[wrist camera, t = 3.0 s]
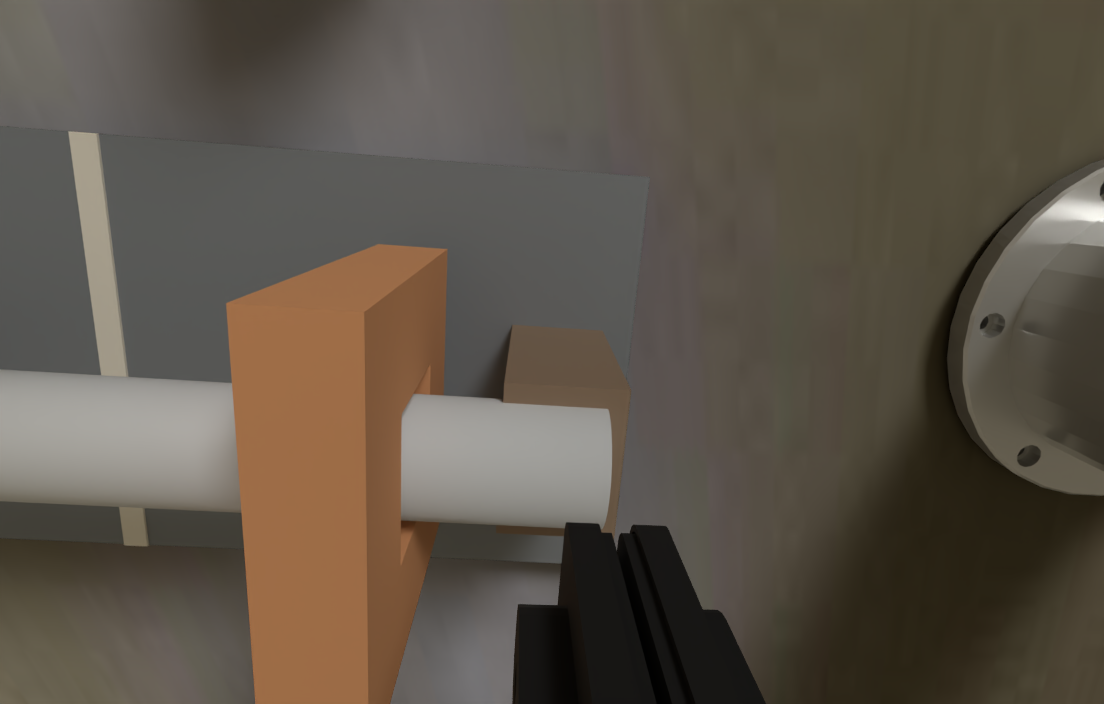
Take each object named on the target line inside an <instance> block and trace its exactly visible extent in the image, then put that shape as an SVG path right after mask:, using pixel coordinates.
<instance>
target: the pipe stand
mask: <svg viewBox="0 0 1104 704" xmlns="http://www.w3.org/2000/svg"><path fill="white" fill-rule="evenodd" d="M649 180H650V177H643V176H630V175H617V174H605V173H592V172H579V171H566V170H554V169H541V168H528V167H515V166H503V165H490V164H477V163H464V162H452V161H439V160H426V159H413V158H401V157H388V156H375V155H362V154H350V153H337V152H324V151H311V150H298V149H286V148H273V147H260V146H247V145H235V144H222V143H209V142H196V141H184V140H171V139H158V138H145V137H133V136H120V135H107V134H96V133H83V132H70V131H56V130H43V129H31V128H18V127H5V126H0V538H7V539H29V540H51V541H74V542H96V543H118V544H124V545H125V546H148V545H162V546H185V547H207V548H229V549H244V540H243V526H242V513H241V499H240V486H239V472H238V459H237V445H236V431H235V418H234V404H233V391H232V377H231V364H230V350H229V336H228V323H227V309H226V303H228V302H230V301H233V300H235V299H238V298H241V297H243V296H246V295H248V294H251V293H254V292H256V291H259V290H261V289H264V288H266V287H269V286H272V285H274V284H277V283H279V282H282V281H285V280H287V279H290V278H292V277H295V276H298V275H300V274H303V273H305V272H308V271H310V270H313V269H316V268H318V267H321V266H323V265H326V264H329V263H331V262H334V261H336V260H339V259H342V258H344V257H347V256H349V255H352V254H354V253H357V252H360V251H362V250H365V249H367V248H370V247H373V246H375V245H378V244H383V245H398V246H412V247H426V248H440V249H448V250H447V287H446V325H445V362H444V395H428V394H413V395H412V397H411V399H410V401H409V402H408V404H407V406H406V408H405V409H404V411H403V413H402V426H401V520H402V521H423V522H440V523H439V527H438V530H437V534H436V538H435V541H434V545H433V549H432V552H431V556H430V558H451V559H473V560H496V561H518V562H540V563H562V552H563V541H564V531H565V524H566V522H574V523H598V524H599V525H600V528H601V532H603V533H612V535H613V539H614V535H615V526H616V517H617V509H618V500H619V492H620V483H621V474H622V466H623V457H624V448H625V440H626V431H627V423H628V414H629V405H630V397H631V389H630V387H629V385H628V383H627V374H628V365H629V356H630V348H631V339H632V330H633V321H634V312H635V303H636V295H637V286H638V277H639V268H640V259H641V251H642V242H643V233H644V224H645V215H646V206H647V198H648V189H649Z"/></svg>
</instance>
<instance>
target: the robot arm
mask: <svg viewBox="0 0 1104 704" xmlns="http://www.w3.org/2000/svg"><path fill="white" fill-rule="evenodd" d="M947 365H948V377H949V389H950V392H951V395H952V398H953V401H954V405H955V408H956V411H957V414H958V416H959V418H960V420H961V422H962V423H963V425H964V427H965V428H966V430H967V432H968V433H969V435H970V437H971V439H972V440H973V441H974V442H975V443H976V444H977V445H978V446H979V447H980V448H981V449H982V450H983V451H984V452H985V453H986V454H987V455H988V456H989V457H990V458H991V459H993V460H994V461H996V462H997V463H999V464H1001V465H1002V466H1004V467H1005V468H1007V469H1008V470H1010V471H1011V472H1013V473H1014V474H1016V475H1018V476H1020V477H1022V478H1024V479H1026V480H1028V481H1030V482H1032V483H1034V484H1036V485H1038V486H1040V487H1042V488H1046V489H1050V490H1054V491H1058V492H1062V493H1066V494H1072V495H1090V496H1104V159H1103V160H1100V161H1097V162H1094V163H1091V164H1089V165H1087V166H1085V167H1083V168H1081V169H1079V170H1078V171H1076V172H1074V173H1072V174H1070V175H1068V176H1066V177H1064V178H1062V179H1060V180H1058V181H1057V182H1055V183H1054V184H1053V185H1051V186H1050V187H1049V188H1047V189H1046V190H1044V191H1043V192H1042V193H1040V194H1039V195H1038V196H1036V197H1035V198H1034V199H1032V200H1031V201H1029V202H1028V203H1027V204H1026V205H1025V206H1024V207H1023V208H1022V209H1021V210H1020V211H1019V212H1018V213H1017V214H1016V215H1015V216H1014V217H1013V218H1012V219H1011V220H1010V221H1009V222H1008V223H1007V224H1006V225H1005V226H1004V227H1003V228H1002V229H1001V230H1000V231H999V232H998V234H997V235H996V236H995V238H994V239H993V240H992V242H991V243H990V245H989V246H988V247H987V249H986V250H985V251H984V253H983V254H982V256H981V257H980V258H979V260H978V261H977V263H976V265H975V267H974V269H973V271H972V273H971V275H970V277H969V279H968V281H967V283H966V284H965V286H964V288H963V290H962V292H961V295H960V298H959V301H958V304H957V308H956V311H955V314H954V317H953V321H952V324H951V328H950V336H949V345H948V353H947ZM512 704H766V703H765V701H764V699H763V697H762V694H761V692H760V690H759V688H758V686H757V684H756V682H755V680H754V678H753V675H752V673H751V671H750V669H749V667H748V665H747V663H746V661H745V659H744V656H743V654H742V652H741V650H740V648H739V646H738V644H737V642H736V639H735V637H734V635H733V633H732V631H731V629H730V627H729V625H728V623H727V620H726V619H725V617H724V616H723V614H722V613H721V612H720V611H718V610H703V609H702V607H701V605H700V602H699V600H698V598H697V595H696V593H695V591H694V588H693V586H692V584H691V581H690V579H689V577H688V574H687V572H686V570H685V567H684V565H683V563H682V560H681V558H680V556H679V553H678V551H677V549H676V546H675V544H674V542H673V539H672V537H671V535H670V532H669V530H668V528H667V527H666V526H652V525H633V526H632V527H631V530H630V534H629V533H621V534H620V536H619V540H618V548H617V551H616V547H615V543H614V539H613V535H612V533H603V532H601V528H600V525H599V524H598V523H574V522H566V524H565V531H564V541H563V552H562V563H561V574H560V585H559V596H558V605H526V604H518V610H517V623H516V637H515V653H514V673H513V703H512Z"/></svg>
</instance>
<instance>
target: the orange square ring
mask: <svg viewBox="0 0 1104 704" xmlns="http://www.w3.org/2000/svg"><path fill="white" fill-rule="evenodd" d="M447 250H448V249H440V248H426V247H412V246H398V245H383V244H378V245H375V246H373V247H370V248H367V249H365V250H362V251H360V252H357V253H354V254H352V255H349V256H347V257H344V258H342V259H339V260H336V261H334V262H331V263H329V264H326V265H323V266H321V267H318V268H316V269H313V270H310V271H308V272H305V273H303V274H300V275H298V276H295V277H292V278H290V279H287V280H285V281H282V282H279V283H277V284H274V285H272V286H269V287H266V288H264V289H261V290H259V291H256V292H254V293H251V294H248V295H246V296H243V297H241V298H238V299H235V300H233V301H230V302H228V303H226V309H227V323H228V336H229V350H230V364H231V377H232V391H233V404H234V418H235V431H236V445H237V459H238V472H239V486H240V499H241V513H242V526H243V540H244V554H245V567H246V581H247V594H248V608H249V621H250V635H251V649H252V662H253V676H254V689H255V703H256V704H390V701H391V698H392V694H393V690H394V687H395V683H396V680H397V676H398V672H399V669H400V665H401V661H402V658H403V654H404V650H405V647H406V643H407V640H408V636H409V632H410V629H411V625H412V621H413V618H414V614H415V610H416V607H417V603H418V599H419V596H420V592H421V589H422V585H423V581H424V578H425V574H426V570H427V567H428V563H429V559H430V556H431V552H432V549H433V545H434V541H435V538H436V534H437V530H438V527H439V523H440V522H423V521H402V520H401V426H402V413H403V411H404V409H405V408H406V406H407V404H408V402H409V401H410V399H411V397H412V395H413V394H428V395H444V362H445V325H446V287H447Z"/></svg>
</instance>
